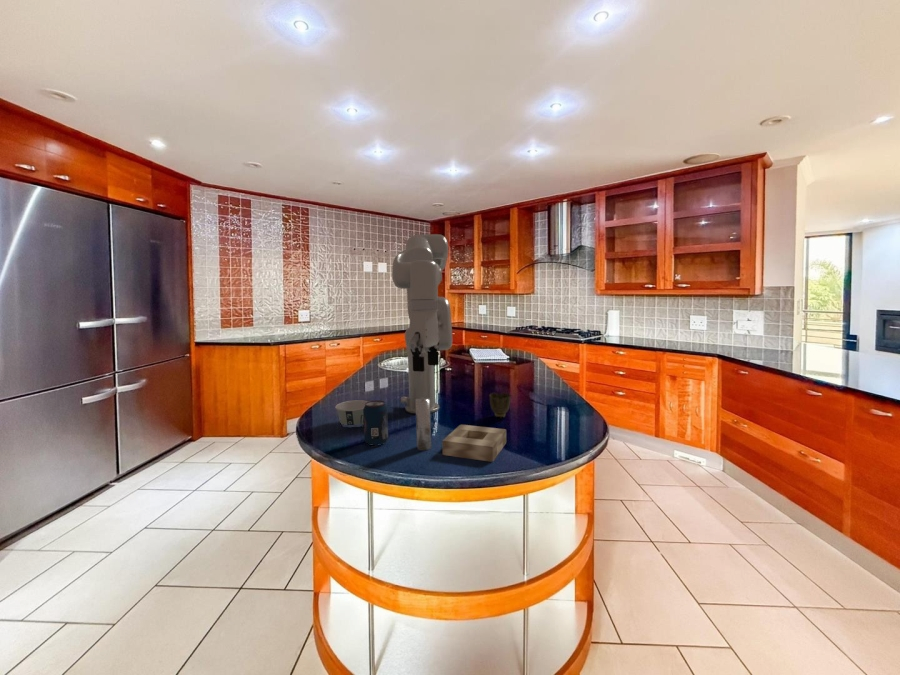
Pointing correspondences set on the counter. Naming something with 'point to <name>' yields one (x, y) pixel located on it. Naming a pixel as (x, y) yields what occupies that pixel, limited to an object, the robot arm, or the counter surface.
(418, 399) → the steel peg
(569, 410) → the counter surface
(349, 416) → the food container
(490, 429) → the square wooden frame
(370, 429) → the soda can
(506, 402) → the brown bumpy hollow part
